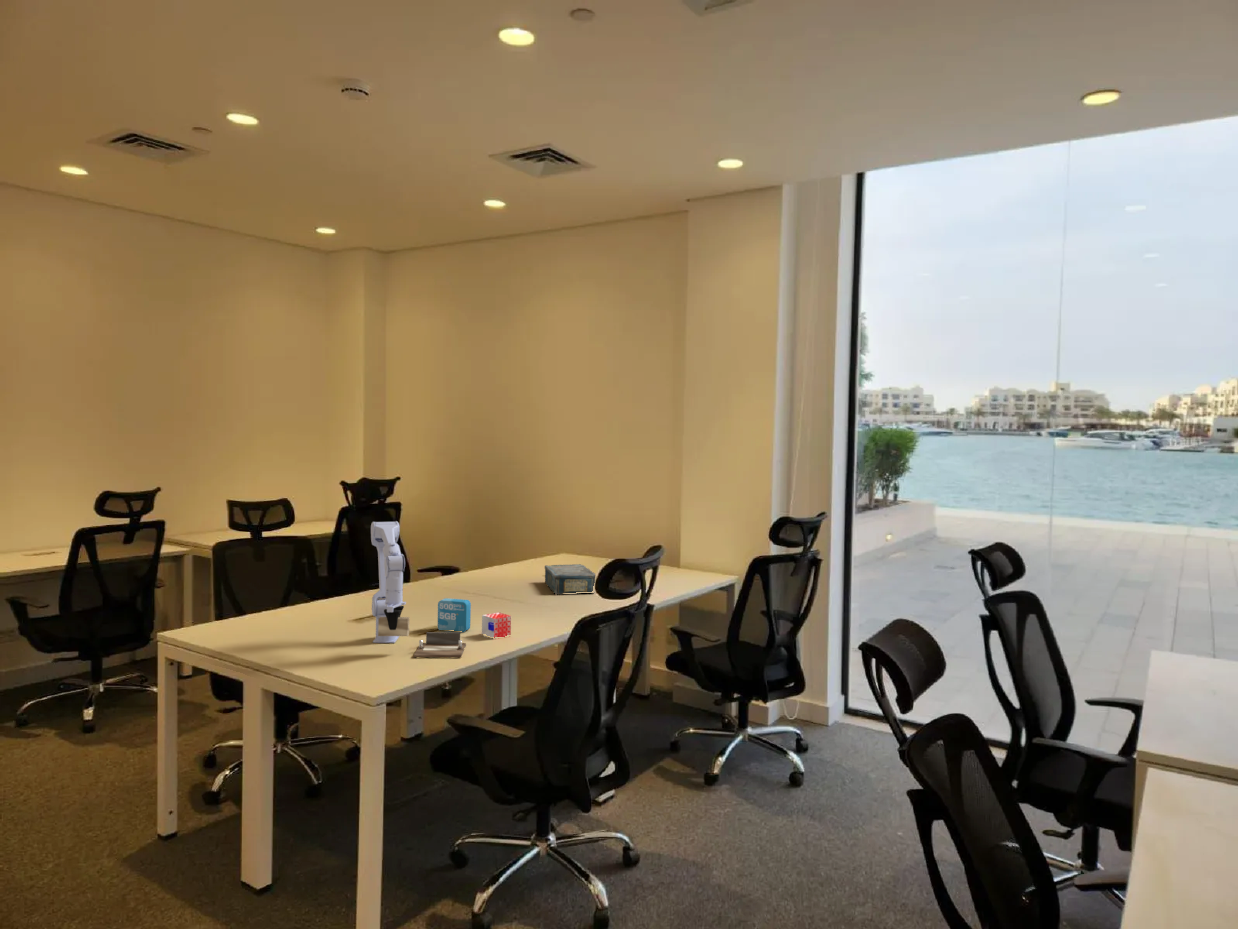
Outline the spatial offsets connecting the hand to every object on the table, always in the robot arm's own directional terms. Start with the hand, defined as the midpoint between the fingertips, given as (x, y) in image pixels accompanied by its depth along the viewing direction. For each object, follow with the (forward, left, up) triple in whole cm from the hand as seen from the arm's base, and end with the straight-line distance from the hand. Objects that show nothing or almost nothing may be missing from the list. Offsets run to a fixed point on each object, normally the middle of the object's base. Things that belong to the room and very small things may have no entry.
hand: (393, 628), depth 284 cm
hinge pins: (-2, +16, -9) cm, 18 cm away
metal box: (-120, +64, -9) cm, 136 cm away
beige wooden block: (0, 0, -2) cm, 2 cm away
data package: (-33, +17, -9) cm, 38 cm away
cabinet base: (-2, +16, -9) cm, 18 cm away
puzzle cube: (-25, +34, -9) cm, 43 cm away
